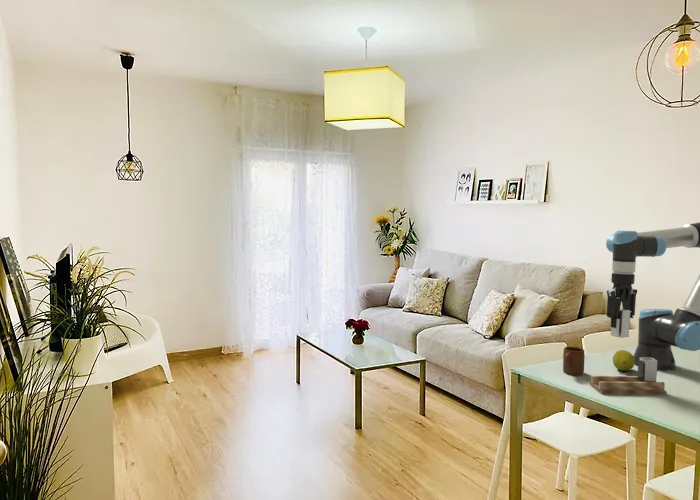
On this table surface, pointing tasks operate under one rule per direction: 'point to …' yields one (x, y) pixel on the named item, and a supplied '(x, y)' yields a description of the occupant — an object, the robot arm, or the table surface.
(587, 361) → the table surface
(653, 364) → the finger
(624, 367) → the lemon
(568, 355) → the mug
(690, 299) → the robot arm
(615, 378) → the rail
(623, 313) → the block
